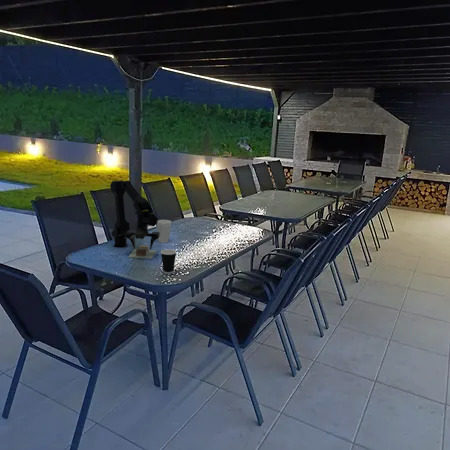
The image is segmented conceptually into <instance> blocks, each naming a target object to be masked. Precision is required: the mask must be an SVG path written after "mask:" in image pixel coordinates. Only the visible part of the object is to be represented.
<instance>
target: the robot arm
mask: <svg viewBox="0 0 450 450" xmlns="http://www.w3.org/2000/svg"><path fill="white" fill-rule="evenodd" d="M109 187H110V190H111V193H112V195H113V196H114V201H115V213H116V214H115V215H116V221H115V223H114V228H113V230H112V231H111V237H113V238H114V245H113V247H115V248H125V247H126V246H127V245H128V240H129V241H130V242H131V244H132V245H131V246H132V247H133V250H134V249H136V240H137V239H140V240H143V239H145V238H146V237H148V238H149V237H150V244H149V250H152V248H153V245H154V244H155V243H154V242H155V241H156V240H158V238H159V237H160V233H159V232H157V231H152V232H151V233H150V232H149V229H148V228H149V227H148V226H150V227H154V226H156V224H157V222H158V217H157V215H155V213H154V212H153V209H152V206H151V204H150V202H149V201H148V200H147V199H146V198H145V197H143V196H141V194H139V192H138V191H137V190H136V188H135V187H134V186H133V184H132V182H131V181H130V180H121V179H120V180H113V181H111V183H110V185H109ZM125 194H127V195H128V197H129V198H130V199H131V201H132V202H133V207H134V209H135V210H136V211H135V212H134V213H135V215H136V216H137V217H136V221H137V223H136V224H137V225H136V230H135V231H134V230H130V229H131V228H130V222H129V221H127V220H126V212H125V200H124V195H125Z"/></svg>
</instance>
